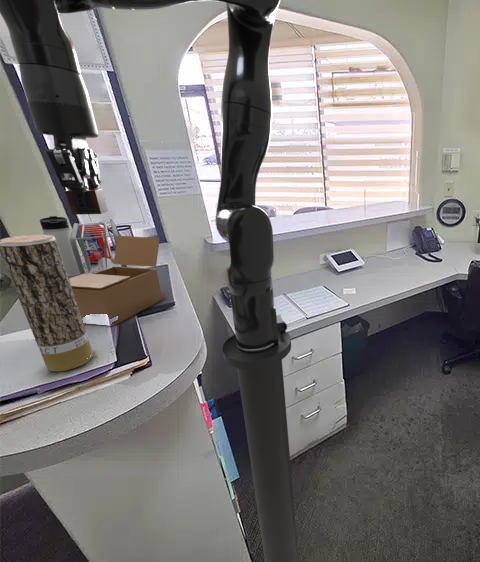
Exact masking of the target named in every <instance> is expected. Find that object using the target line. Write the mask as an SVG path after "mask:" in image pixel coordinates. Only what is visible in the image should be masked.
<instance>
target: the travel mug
mask: <svg viewBox="0 0 480 562" xmlns="http://www.w3.org/2000/svg"><path fill="white" fill-rule="evenodd" d="M39 223H40V226H41V230H42V233H43V235H54V238H55V239H56V242H57V245H58V248H59V251H60V254H61V257H62V260H63V263H64V266H65V269H66V272H67V275H68V278H72V277H75V276H78V275H80V272H79V269H78V266H77V263H76V259H75V256H74V253H73V250H72V247H71V243H70V236H71V232H72V230H71V228H70V225H69V223H68V219H67V218H66V217H64V216H57V215H52V216H51V215H49V216H48V217H43V218H41V219H39Z"/></svg>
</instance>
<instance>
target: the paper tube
mask: <svg viewBox="0 0 480 562" xmlns="http://www.w3.org/2000/svg"><path fill="white" fill-rule="evenodd" d="M0 255H1V257H2V260H3V263H4V266H5V268H6V270H7V273H8V275H9V278H10V280H11V282H12V286H13V288H14V290H15V292H16V295H17V297H18V301H19V303H20V305H21V307H22V309H23V313H24V315H25V317H26V320H27V322H28V325H29V328H30V330H31V332H32V335H33V337H34V341H35V342H36V344H37V347H38V350H39V352H40V354H41V357H42V359H43V362H44V364H45V367H46V368H47V370H49V371H52V372H66V371H69V370H73V369H75V368H79V367H81V366H83V365H86V364H87V363H88V362H90V361H91V360H92V358H93V357H94V351H93V348H92V345H91V342H90V338H89V335H88V332H87V329H86V327H85V325H84V323H83V320H82V317H81V314H80V311H79V308H78V305H77V302H76V299H75V296H74V293H73V290H72V287H71V284H70V281H69V278H68V275H67V272H66V269H65V266H64V263H63V260H62V257H61V254H60V251H59V248H58V245H57V242H56V239H55V238H54V235H44V234H27V235H18V236H10V237H5V238H1V239H0ZM92 352H93V354H92ZM91 354H92V355H91ZM90 355H91V357H90ZM87 358H88V359H87Z"/></svg>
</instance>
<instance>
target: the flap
mask: <svg viewBox="0 0 480 562" xmlns="http://www.w3.org/2000/svg"><path fill="white" fill-rule="evenodd" d="M160 240H161V239H160V237H149V236H147V237H146V236H129V235H119V236H117V242H116V243H115V248H114V249H115V251H114V256H113V257H114V258H113V265H118V266H119V265H120V266H121V265H127V266H137V267H152V268H157V262H158V257H159V256H158V255H159V248H160Z"/></svg>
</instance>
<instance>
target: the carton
mask: <svg viewBox="0 0 480 562" xmlns="http://www.w3.org/2000/svg"><path fill="white" fill-rule="evenodd" d="M98 271H99V270H98ZM69 281H70V284H71V287H72V290H73V293H74V296H75V299H76V302H77V305H78V308H79V311H80V314H81V317H82V318H83V317H85V316H86V315H90V314H107V315H108V317H109V319H112V318H114V317H116V316H118V320H116V321H114V322H112V324H111V328H112V327H114V326H116V325H118V324H120V323H122V322H124V321H125V320H127V319H130V318H131V317H133V316H135V315H138V313H140V312H142V311H144V310H146V309H148V308H149V307H151V306H153V305H156V304H157V303H159V302H161V301H163V300H164V298H163V293H162V288H161V284H160V280H159V276H158V271H157V269H156V268H147V267H144V268H143V267H133V266H132V267H131V266H127V267H122V266H116V265H113V267H111V268H108V269H105V270H102V271H99V272H94V273H93V274H88V272H87V273H86V272H85V273H84V274H81V275H78V276H75V277H72V278H69Z"/></svg>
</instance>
